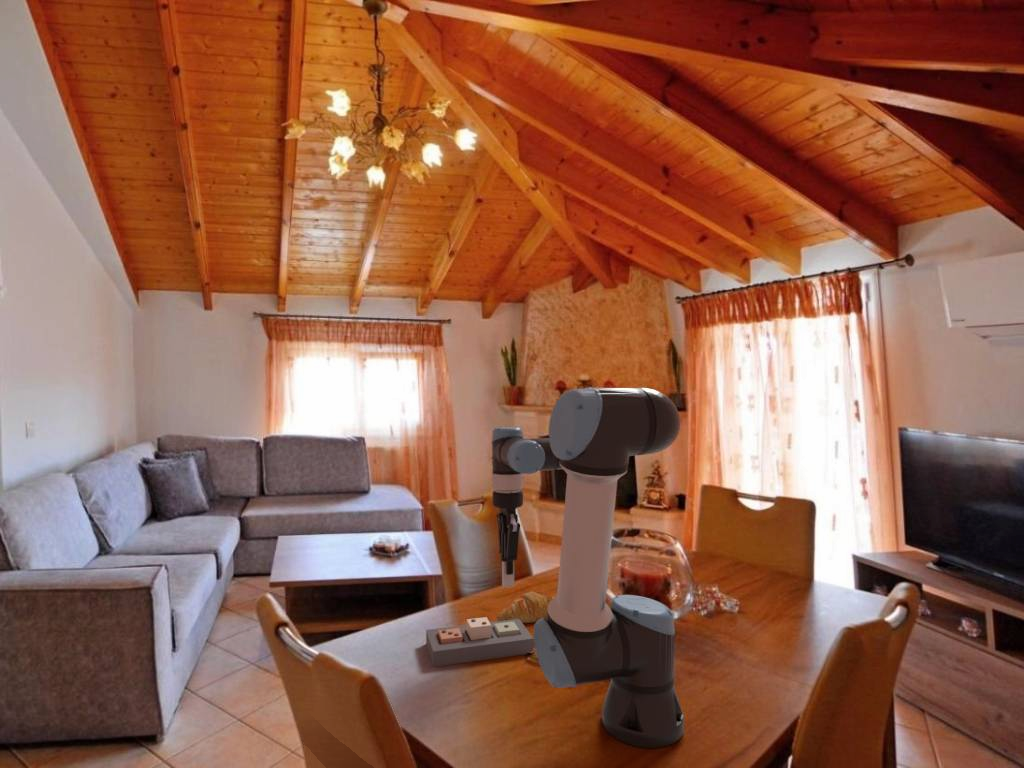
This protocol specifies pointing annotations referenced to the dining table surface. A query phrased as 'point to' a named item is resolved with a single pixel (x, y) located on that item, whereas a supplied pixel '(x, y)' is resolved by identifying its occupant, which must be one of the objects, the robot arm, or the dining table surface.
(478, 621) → the button two
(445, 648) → the console
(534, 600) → the croissant
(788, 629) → the dining table surface
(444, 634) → the button three
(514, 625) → the button one
